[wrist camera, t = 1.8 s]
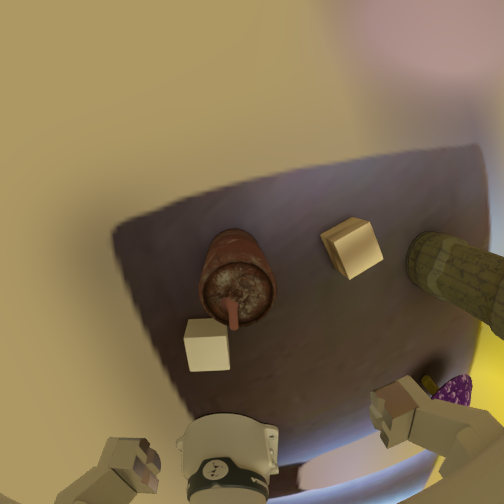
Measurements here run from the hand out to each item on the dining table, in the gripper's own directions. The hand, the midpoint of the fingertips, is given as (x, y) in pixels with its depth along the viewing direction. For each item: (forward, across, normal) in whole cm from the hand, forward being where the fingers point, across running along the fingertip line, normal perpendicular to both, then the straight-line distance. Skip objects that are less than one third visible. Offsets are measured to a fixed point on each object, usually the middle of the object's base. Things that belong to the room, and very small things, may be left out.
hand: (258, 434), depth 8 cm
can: (+27, 0, 0) cm, 27 cm away
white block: (+27, -6, -10) cm, 30 cm away
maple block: (+27, +14, -2) cm, 31 cm away
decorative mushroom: (+27, +29, -33) cm, 52 cm away
